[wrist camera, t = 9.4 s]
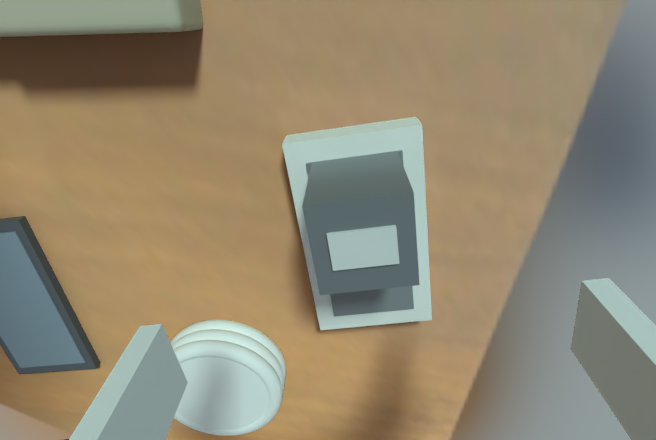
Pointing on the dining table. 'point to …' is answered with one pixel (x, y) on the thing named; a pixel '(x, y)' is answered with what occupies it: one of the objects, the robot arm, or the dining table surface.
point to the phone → (36, 308)
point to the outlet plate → (409, 145)
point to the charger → (361, 224)
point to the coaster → (228, 377)
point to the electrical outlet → (97, 17)
